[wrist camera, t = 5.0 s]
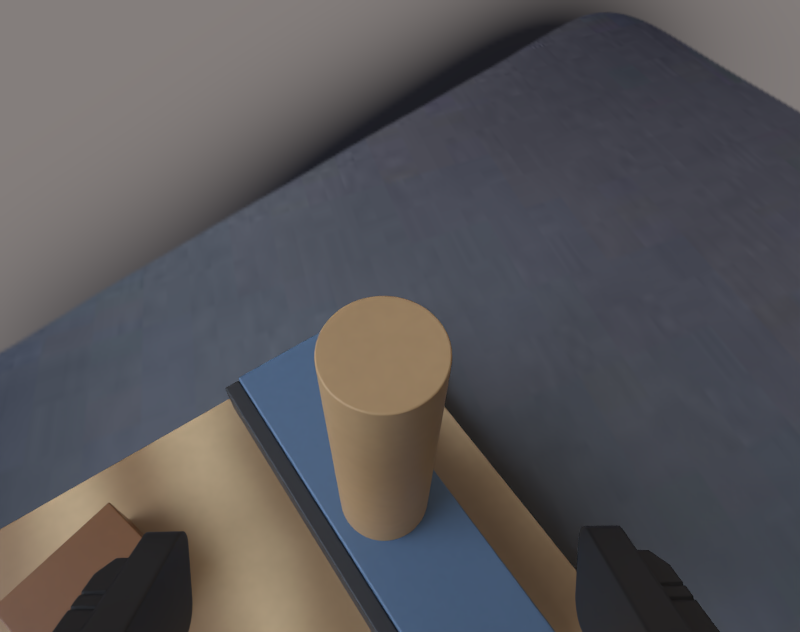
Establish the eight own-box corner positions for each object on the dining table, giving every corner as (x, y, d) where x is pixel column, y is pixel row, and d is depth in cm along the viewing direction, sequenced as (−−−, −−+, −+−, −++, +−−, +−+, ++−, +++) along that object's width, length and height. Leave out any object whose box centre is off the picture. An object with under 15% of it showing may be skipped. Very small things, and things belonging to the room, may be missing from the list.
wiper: (330, 352, 28) (299, 132, 18) (552, 652, 22) (693, 575, 12) (233, 407, 26) (140, 202, 16) (442, 747, 20) (497, 750, 10)
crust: (128, 518, 24) (108, 501, 22) (189, 582, 23) (173, 568, 21) (21, 618, 22) (-9, 608, 20) (81, 693, 21) (55, 688, 19)
